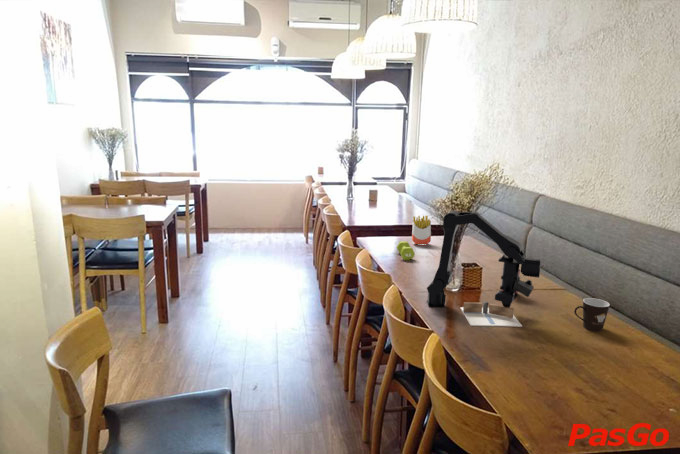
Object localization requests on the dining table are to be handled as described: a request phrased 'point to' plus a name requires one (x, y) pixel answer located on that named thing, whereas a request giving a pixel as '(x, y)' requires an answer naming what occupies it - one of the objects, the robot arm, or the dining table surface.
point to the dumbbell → (405, 250)
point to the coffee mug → (594, 313)
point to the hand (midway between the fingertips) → (506, 311)
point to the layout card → (489, 319)
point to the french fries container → (421, 230)
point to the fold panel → (501, 310)
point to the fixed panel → (475, 307)
